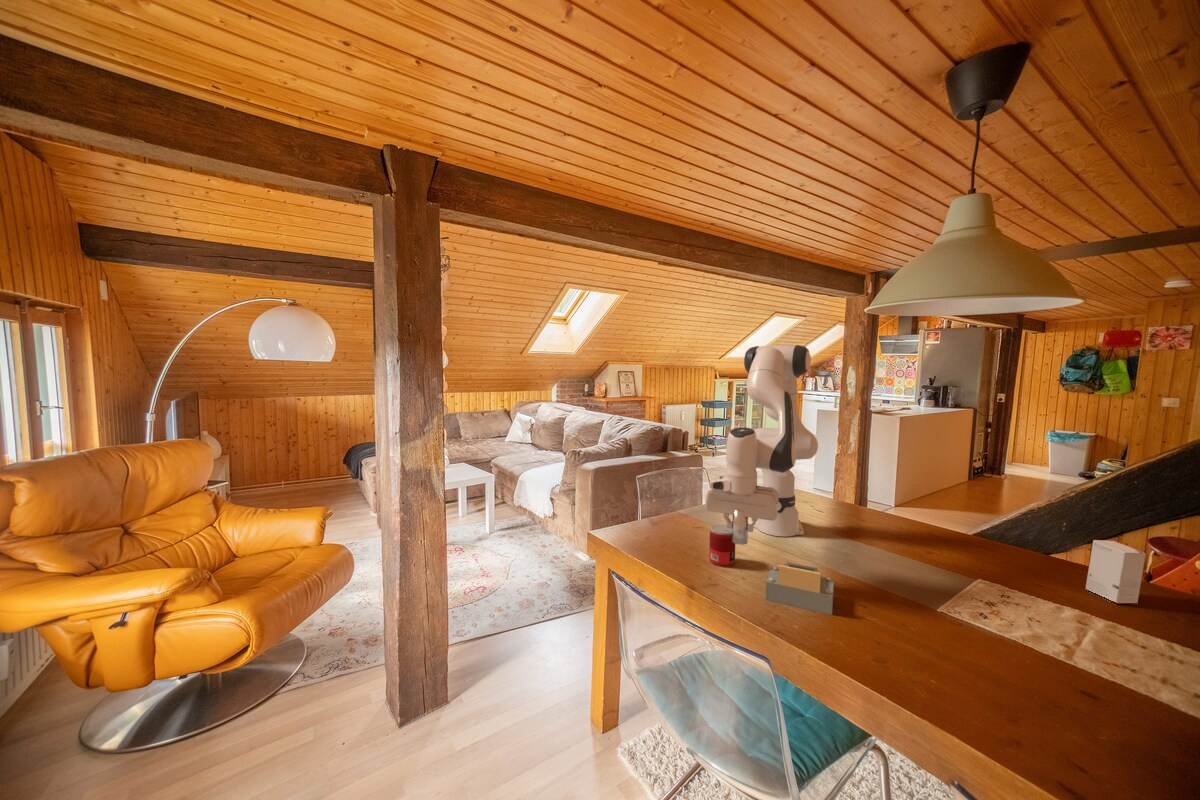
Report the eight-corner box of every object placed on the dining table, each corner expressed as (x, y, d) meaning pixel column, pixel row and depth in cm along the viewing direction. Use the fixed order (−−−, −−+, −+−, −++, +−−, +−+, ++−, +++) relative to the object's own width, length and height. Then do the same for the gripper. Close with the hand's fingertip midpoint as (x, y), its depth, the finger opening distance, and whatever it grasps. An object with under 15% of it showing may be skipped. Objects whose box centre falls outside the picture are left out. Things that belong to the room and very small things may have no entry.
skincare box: (1084, 590, 129) (1089, 539, 128) (1106, 590, 129) (1111, 539, 127) (1118, 606, 120) (1123, 551, 119) (1141, 606, 120) (1146, 551, 119)
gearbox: (771, 583, 132) (772, 550, 132) (832, 597, 125) (834, 561, 124) (765, 599, 124) (766, 563, 123) (832, 614, 116) (833, 576, 115)
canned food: (735, 568, 142) (736, 533, 142) (709, 566, 144) (710, 532, 143) (733, 558, 150) (734, 525, 149) (708, 556, 152) (709, 523, 151)
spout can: (733, 537, 138) (734, 500, 137) (749, 540, 136) (749, 503, 135) (730, 542, 134) (731, 505, 133) (746, 545, 132) (746, 507, 131)
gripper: (780, 485, 131) (779, 531, 133) (709, 477, 141) (709, 520, 142) (777, 491, 126) (776, 539, 127) (704, 482, 136) (703, 527, 137)
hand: (740, 529), depth 135 cm, fingers closed on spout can, 4 cm apart
